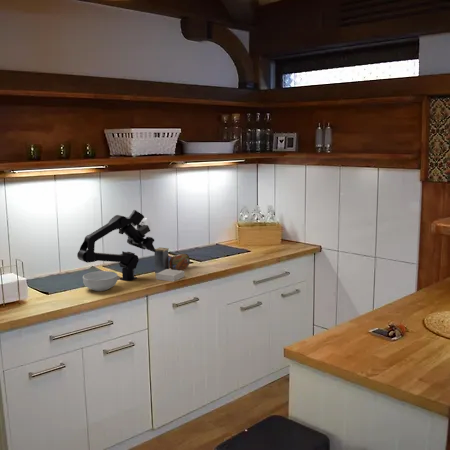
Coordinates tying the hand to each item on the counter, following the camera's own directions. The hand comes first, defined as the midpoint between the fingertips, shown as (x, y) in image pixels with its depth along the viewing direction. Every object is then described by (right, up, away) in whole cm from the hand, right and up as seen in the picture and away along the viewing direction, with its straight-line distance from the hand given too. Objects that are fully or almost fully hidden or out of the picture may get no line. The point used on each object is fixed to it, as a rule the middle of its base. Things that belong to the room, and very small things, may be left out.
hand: (150, 250), depth 297 cm
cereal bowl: (-21, -18, -25) cm, 37 cm away
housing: (+6, -13, +7) cm, 16 cm away
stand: (+11, -15, -5) cm, 19 cm away
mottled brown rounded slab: (+15, -12, +14) cm, 24 cm away
